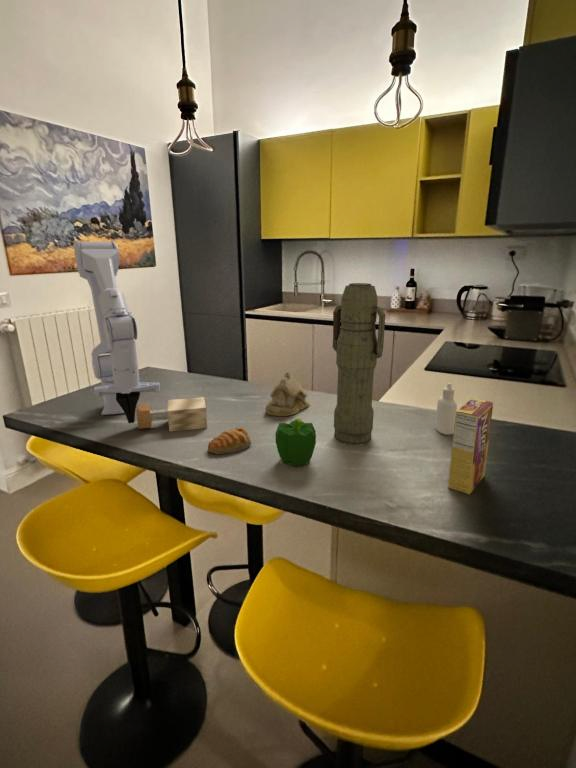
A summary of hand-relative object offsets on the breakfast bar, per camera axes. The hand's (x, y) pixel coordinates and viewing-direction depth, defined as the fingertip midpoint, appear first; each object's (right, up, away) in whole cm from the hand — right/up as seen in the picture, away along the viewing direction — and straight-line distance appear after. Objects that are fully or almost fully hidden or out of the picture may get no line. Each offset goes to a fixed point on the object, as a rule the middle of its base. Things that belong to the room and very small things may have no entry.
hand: (131, 421), depth 104 cm
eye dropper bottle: (+76, -2, 0) cm, 76 cm away
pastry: (+25, -5, -9) cm, 27 cm away
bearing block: (+13, -1, +4) cm, 13 cm away
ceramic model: (+38, +2, +15) cm, 41 cm away
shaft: (+9, 0, +3) cm, 10 cm away
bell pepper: (+40, -7, -15) cm, 43 cm away
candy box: (+72, -10, -23) cm, 76 cm away
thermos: (+53, -3, -4) cm, 53 cm away
